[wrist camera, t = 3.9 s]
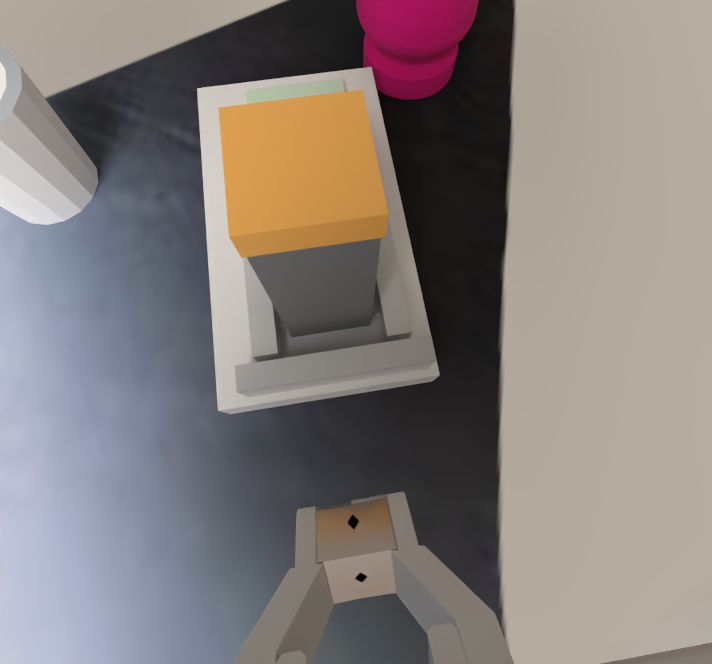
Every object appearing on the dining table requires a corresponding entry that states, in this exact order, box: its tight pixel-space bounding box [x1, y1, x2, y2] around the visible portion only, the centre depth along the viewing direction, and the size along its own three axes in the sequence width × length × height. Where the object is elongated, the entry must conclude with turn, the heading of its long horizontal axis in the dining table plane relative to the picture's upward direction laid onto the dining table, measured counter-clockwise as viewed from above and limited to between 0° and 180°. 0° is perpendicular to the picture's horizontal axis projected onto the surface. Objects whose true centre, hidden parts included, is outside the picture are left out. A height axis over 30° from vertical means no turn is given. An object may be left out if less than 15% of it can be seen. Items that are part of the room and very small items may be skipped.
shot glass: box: [0, 46, 98, 225], centre depth 22 cm, size 7×7×7 cm
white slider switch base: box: [197, 67, 440, 414], centre depth 22 cm, size 11×20×4 cm, turn 9°
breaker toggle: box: [218, 89, 389, 337], centre depth 16 cm, size 4×4×10 cm
